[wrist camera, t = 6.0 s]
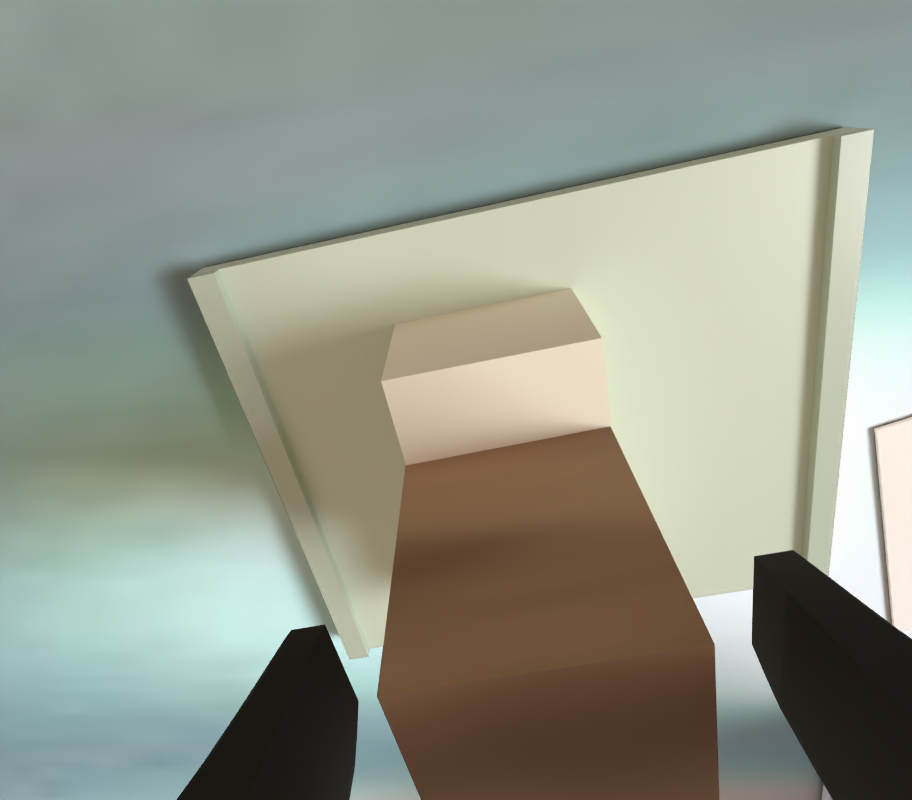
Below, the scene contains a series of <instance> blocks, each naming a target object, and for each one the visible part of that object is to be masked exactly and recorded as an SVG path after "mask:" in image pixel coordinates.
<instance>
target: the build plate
mask: <svg viewBox="0 0 912 800" xmlns="http://www.w3.org/2000/svg"><path fill="white" fill-rule="evenodd" d="M873 134H874V129H865V128H854V127H843V128H839V129H834V130H830V131H825V132H820V133H816V134H811V135H807V136H802V137H798V138H793V139H789V140H784V141H779V142H775V143H770V144H766V145H761V146H757V147H752V148H747V149H743V150H738V151H734V152H729V153H725V154H720V155H715V156H711V157H706V158H702V159H697V160H693V161H688V162H684V163H679V164H674V165H670V166H665V167H661V168H656V169H652V170H647V171H642V172H638V173H633V174H629V175H624V176H620V177H615V178H611V179H606V180H601V181H597V182H592V183H588V184H583V185H579V186H574V187H569V188H565V189H560V190H556V191H551V192H547V193H542V194H538V195H533V196H528V197H524V198H519V199H515V200H510V201H506V202H501V203H496V204H492V205H487V206H483V207H478V208H474V209H469V210H464V211H460V212H455V213H451V214H446V215H442V216H437V217H433V218H428V219H423V220H419V221H414V222H410V223H405V224H401V225H396V226H391V227H387V228H382V229H378V230H373V231H369V232H364V233H360V234H355V235H350V236H346V237H341V238H337V239H332V240H328V241H323V242H318V243H314V244H309V245H305V246H300V247H296V248H291V249H286V250H282V251H277V252H273V253H268V254H264V255H259V256H255V257H250V258H245V259H241V260H236V261H232V262H227V263H223V264H218V265H213V266H209V267H204V268H202V269H201V270H199V271H198V272H196V273H195V274H193V275H192V276H191V277H189V278H188V279H187V280H188V282H189V284H190V287H191V289H192V291H193V294H194V296H195V298H196V301H197V303H198V305H199V308H200V310H201V312H202V315H203V317H204V319H205V322H206V324H207V327H208V329H209V331H210V334H211V336H212V338H213V341H214V343H215V345H216V348H217V350H218V352H219V355H220V357H221V359H222V362H223V364H224V366H225V369H226V371H227V373H228V376H229V378H230V380H231V383H232V385H233V387H234V390H235V392H236V395H237V397H238V399H239V402H240V404H241V406H242V409H243V411H244V413H245V416H246V418H247V420H248V423H249V425H250V427H251V430H252V432H253V434H254V437H255V439H256V441H257V444H258V446H259V448H260V451H261V453H262V456H263V458H264V460H265V463H266V465H267V467H268V470H269V472H270V474H271V477H272V479H273V481H274V484H275V486H276V488H277V491H278V493H279V495H280V498H281V500H282V502H283V505H284V507H285V509H286V512H287V514H288V517H289V519H290V521H291V524H292V526H293V528H294V531H295V533H296V535H297V538H298V540H299V542H300V545H301V547H302V549H303V552H304V554H305V556H306V559H307V561H308V563H309V566H310V568H311V570H312V573H313V575H314V578H315V580H316V582H317V585H318V587H319V589H320V592H321V594H322V596H323V599H324V601H325V603H326V606H327V608H328V610H329V613H330V615H331V617H332V620H333V622H334V624H335V627H336V629H337V631H338V634H339V636H340V639H341V641H342V643H343V646H344V648H345V650H346V653H347V655H348V657H349V660H350V659H356V658H363V657H369V650H370V648H375V647H382V646H383V644H384V636H385V627H386V619H387V611H388V603H389V595H390V587H391V579H392V571H393V562H394V554H395V546H396V538H397V530H398V522H399V514H400V506H401V497H402V489H403V481H404V473H405V466H406V463H405V460H404V457H403V453H402V450H401V447H400V443H399V440H398V436H397V433H396V430H395V426H394V423H393V420H392V416H391V413H390V410H389V406H388V403H387V400H386V396H385V393H384V389H383V386H382V383H381V379H382V375H383V371H384V367H385V363H386V359H387V355H388V351H389V347H390V342H391V338H392V334H393V330H394V326H395V324H398V323H403V322H407V321H412V320H417V319H422V318H427V317H432V316H437V315H442V314H447V313H452V312H456V311H461V310H466V309H471V308H476V307H481V306H486V305H491V304H496V303H501V302H505V301H510V300H515V299H520V298H525V297H530V296H535V295H540V294H545V293H550V292H554V291H559V290H564V289H569V288H572V290H573V292H574V293H575V295H576V296H577V298H578V300H579V301H580V303H581V305H582V306H583V308H584V309H585V311H586V313H587V314H588V316H589V318H590V319H591V321H592V322H593V324H594V326H595V327H596V329H597V331H598V332H599V334H600V336H601V337H602V342H603V352H604V361H605V371H606V381H607V390H608V400H609V409H610V419H611V428H612V431H613V433H614V435H615V437H616V439H617V441H618V443H619V445H620V447H621V449H622V452H623V454H624V456H625V458H626V460H627V462H628V464H629V466H630V468H631V470H632V472H633V475H634V477H635V479H636V481H637V483H638V485H639V487H640V489H641V491H642V493H643V496H644V498H645V500H646V502H647V504H648V506H649V508H650V510H651V512H652V514H653V517H654V519H655V521H656V523H657V525H658V527H659V529H660V531H661V533H662V535H663V538H664V540H665V542H666V544H667V546H668V548H669V550H670V552H671V554H672V556H673V558H674V561H675V563H676V565H677V567H678V569H679V571H680V573H681V575H682V577H683V579H684V582H685V584H686V586H687V588H688V590H689V592H690V594H691V596H692V598H698V597H704V596H711V595H717V594H724V593H730V592H737V591H743V590H750V589H753V577H754V556H759V555H765V554H771V553H777V552H784V551H790V550H794V551H795V552H797V553H798V554H800V555H801V556H802V557H804V558H805V559H806V560H807V561H809V562H810V563H811V564H813V565H814V566H815V567H817V568H818V569H819V570H820V571H822V572H823V573H824V574H826V575H827V576H829V566H830V556H831V546H832V536H833V526H834V517H835V507H836V497H837V487H838V477H839V467H840V458H841V448H842V438H843V428H844V418H845V409H846V399H847V389H848V379H849V369H850V359H851V350H852V340H853V330H854V320H855V310H856V301H857V291H858V281H859V271H860V261H861V251H862V242H863V232H864V222H865V212H866V202H867V192H868V183H869V173H870V163H871V153H872V143H873Z"/></svg>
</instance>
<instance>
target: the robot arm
mask: <svg viewBox="0 0 912 800" xmlns="http://www.w3.org/2000/svg"><path fill="white" fill-rule="evenodd" d="M752 645H753V648H754V650H755V652H756V655H757V657H758V659H759V662H760V664H761V666H762V669H763V671H764V673H765V676H766V678H767V680H768V682H769V685H770V687H771V689H772V691H773V693H774V696H775V698H776V700H777V702H778V704H779V707H780V709H781V710H782V712H783V714H784V716H785V717H786V719H787V721H788V723H789V725H790V726H791V728H792V730H793V732H794V733H795V735H796V737H797V739H798V740H799V742H800V744H801V746H802V747H803V749H804V751H805V753H806V754H807V756H808V758H809V760H810V761H811V763H812V765H813V767H814V768H815V770H816V772H817V774H818V775H819V777H820V779H821V780H822V782H823V792H822V800H912V639H911V638H910V637H908V636H907V635H906V634H904V633H903V632H901V631H900V630H899V629H897V628H896V627H894V626H893V625H892V624H890V623H889V622H888V621H886V620H885V619H884V618H882V617H881V616H880V615H878V614H877V613H876V612H874V611H873V610H872V609H870V608H869V607H868V606H866V605H865V604H864V603H862V602H861V601H860V600H858V599H857V598H856V597H854V596H853V595H852V594H850V593H849V592H848V591H847V590H845V589H844V588H843V587H841V586H840V585H839V584H837V583H836V582H835V581H833V580H832V579H831V578H830V577H828V576H827V575H826V574H824V573H823V572H822V571H820V570H819V569H818V568H817V567H815V566H814V565H813V564H811V563H810V562H809V561H807V560H806V559H805V558H804V557H802V556H801V555H800V554H798V553H797V552H795V551H794V550H790V551H784V552H777V553H771V554H765V555H759V556H754V577H753V617H752ZM357 722H358V699H357V697H356V695H355V692H354V690H353V688H352V686H351V683H350V681H349V679H348V676H347V674H346V672H345V670H344V667H343V665H342V663H341V660H340V658H339V656H338V654H337V651H336V649H335V647H334V644H333V642H332V640H331V638H330V635H329V633H328V631H327V628H326V626H325V625H320V626H314V627H308V628H301V629H295V630H291V631H290V633H289V634H288V635H287V637H286V638H285V640H284V641H283V643H282V644H281V646H280V647H279V649H278V650H277V652H276V653H275V655H274V657H273V658H272V660H271V661H270V663H269V664H268V666H267V667H266V669H265V671H264V672H263V674H262V675H261V677H260V678H259V680H258V681H257V683H256V685H255V686H254V688H253V689H252V691H251V692H250V694H249V695H248V697H247V698H246V700H245V702H244V703H243V705H242V706H241V708H240V709H239V711H238V712H237V714H236V715H235V717H234V718H233V720H232V721H231V723H230V724H229V726H228V727H227V729H226V730H225V732H224V733H223V735H222V736H221V737H220V739H219V740H218V742H217V743H216V745H215V746H214V748H213V749H212V751H211V752H210V754H209V755H208V757H207V758H206V760H205V761H204V762H203V764H202V765H201V767H200V768H199V770H198V771H197V772H196V774H195V775H194V776H193V778H192V779H191V781H190V782H189V783H188V785H187V786H186V787H185V789H184V790H183V792H182V793H181V794H180V796H179V797H178V798H177V800H349V798H350V792H351V786H352V780H353V774H354V767H355V755H356V741H357Z"/></svg>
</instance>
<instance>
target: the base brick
mask: <svg viewBox="0 0 912 800" xmlns="http://www.w3.org/2000/svg"><path fill="white" fill-rule="evenodd" d="M381 383H382V386H383V389H384V393H385V396H386V400H387V403H388V406H389V410H390V413H391V416H392V420H393V423H394V426H395V430H396V433H397V436H398V440H399V443H400V447H401V450H402V453H403V457H404V460H405V463H406V465H411V464H416V463H421V462H427V461H432V460H437V459H442V458H448V457H453V456H458V455H463V454H469V453H474V452H479V451H484V450H490V449H495V448H500V447H505V446H511V445H516V444H521V443H526V442H532V441H537V440H542V439H547V438H553V437H558V436H563V435H568V434H574V433H579V432H584V431H589V430H595V429H600V428H605V427H610V426H611V419H610V409H609V400H608V390H607V381H606V371H605V361H604V352H603V342H602V337H601V336H600V334H599V332H598V331H597V329H596V327H595V326H594V324H593V322H592V321H591V319H590V318H589V316H588V314H587V313H586V311H585V309H584V308H583V306H582V305H581V303H580V301H579V300H578V298H577V296H576V295H575V293H574V292H573V290H572V288H569V289H564V290H559V291H554V292H550V293H545V294H540V295H535V296H530V297H525V298H520V299H515V300H510V301H505V302H501V303H496V304H491V305H486V306H481V307H476V308H471V309H466V310H461V311H456V312H452V313H447V314H442V315H437V316H432V317H427V318H422V319H417V320H412V321H407V322H403V323H398V324H395V326H394V330H393V334H392V338H391V342H390V347H389V351H388V355H387V359H386V363H385V367H384V371H383V375H382V379H381Z"/></svg>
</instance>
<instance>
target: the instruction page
mask: <svg viewBox="0 0 912 800" xmlns="http://www.w3.org/2000/svg"><path fill="white" fill-rule="evenodd" d="M874 430H875V442H876V453H877V464H878V475H879V486H880V497H881V508H882V519H883V530H884V541H885V552H886V563H887V574H888V585H889V596H890V607H891V618H892V625H893V626H894V627H896V628H897V629H899V630H900V631H901V632H902V631H906V630H910V629H912V417H910V418H907V419H903V420H900V421H897V422H894V423H891V424H887V425H884V426H881V427H878V428H875V429H874Z"/></svg>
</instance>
